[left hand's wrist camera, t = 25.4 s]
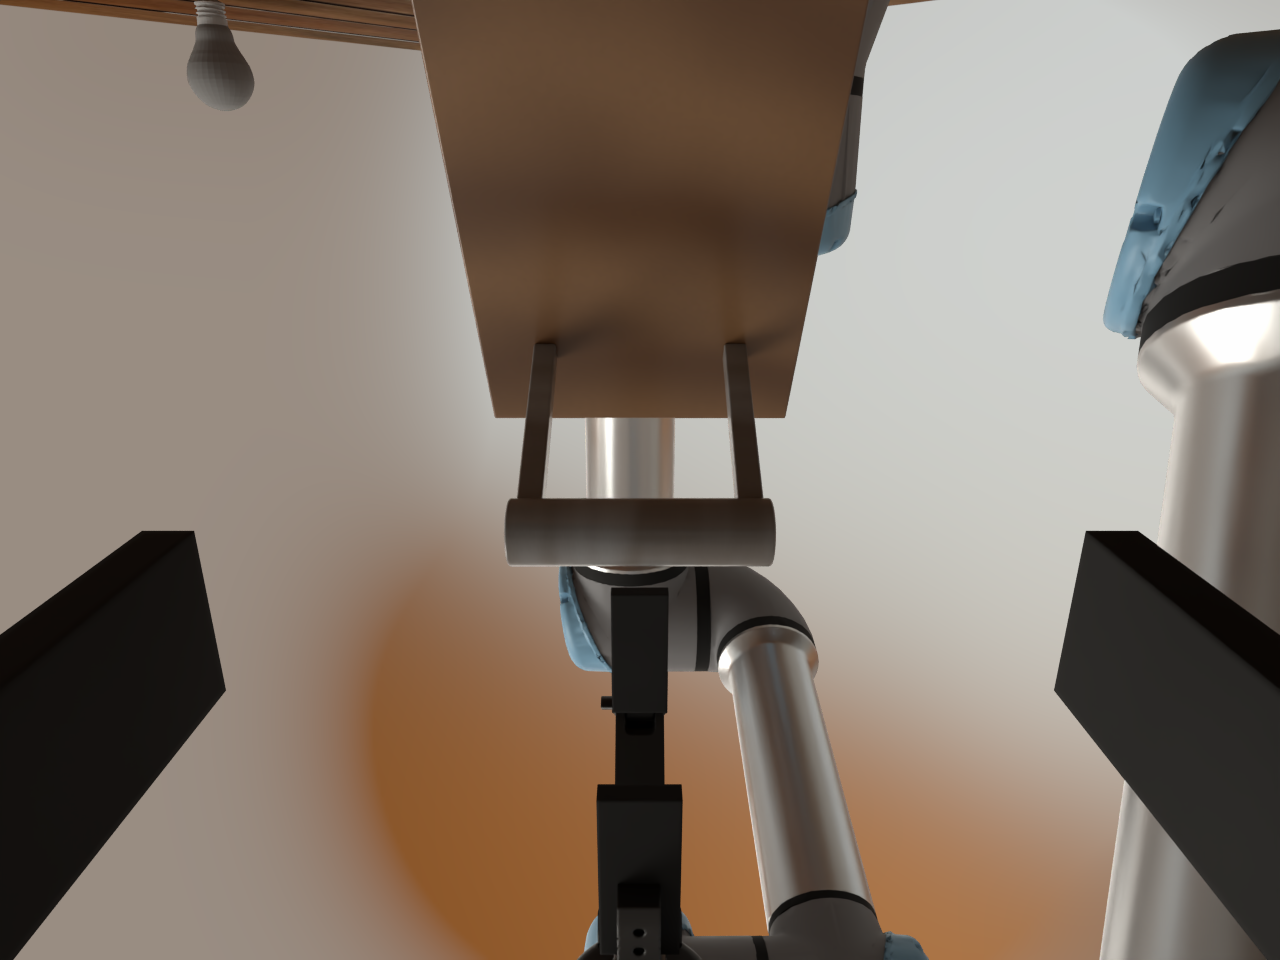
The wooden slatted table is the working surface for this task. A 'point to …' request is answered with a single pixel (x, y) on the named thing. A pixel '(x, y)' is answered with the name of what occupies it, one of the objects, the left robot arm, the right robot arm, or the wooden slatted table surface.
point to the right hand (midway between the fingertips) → (639, 671)
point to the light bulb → (218, 61)
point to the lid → (640, 234)
